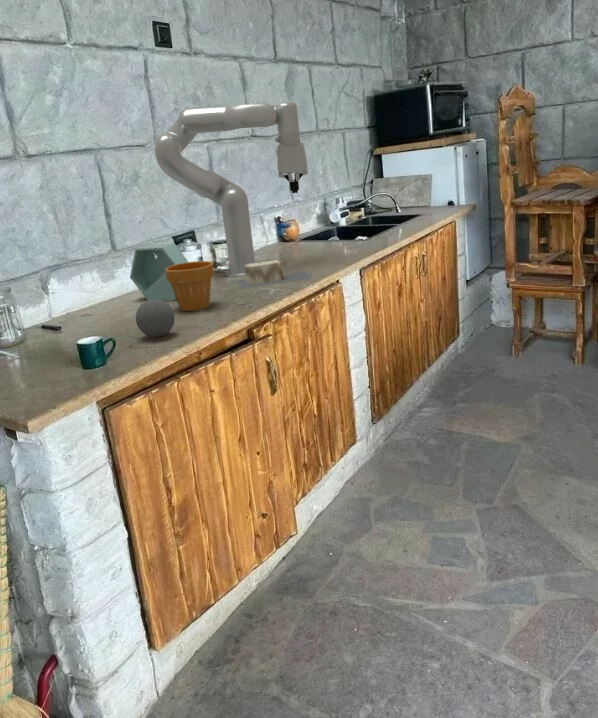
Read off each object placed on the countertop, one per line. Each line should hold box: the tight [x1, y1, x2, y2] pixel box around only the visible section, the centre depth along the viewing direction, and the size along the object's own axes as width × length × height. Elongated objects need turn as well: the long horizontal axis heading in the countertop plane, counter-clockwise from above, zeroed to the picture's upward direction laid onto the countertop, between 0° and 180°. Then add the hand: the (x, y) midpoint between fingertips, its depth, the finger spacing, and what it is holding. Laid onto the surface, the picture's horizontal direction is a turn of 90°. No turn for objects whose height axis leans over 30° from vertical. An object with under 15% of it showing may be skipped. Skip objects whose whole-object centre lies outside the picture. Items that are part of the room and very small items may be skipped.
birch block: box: [244, 259, 283, 285], centre depth 235 cm, size 6×6×12 cm
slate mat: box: [236, 271, 312, 289], centre depth 236 cm, size 24×14×1 cm, turn 101°
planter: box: [129, 242, 189, 302], centre depth 225 cm, size 17×8×21 cm
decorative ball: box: [135, 299, 176, 338], centre depth 180 cm, size 10×10×10 cm
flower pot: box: [165, 260, 215, 312], centre depth 208 cm, size 14×14×13 cm
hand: (294, 192), depth 248 cm, fingers closed
